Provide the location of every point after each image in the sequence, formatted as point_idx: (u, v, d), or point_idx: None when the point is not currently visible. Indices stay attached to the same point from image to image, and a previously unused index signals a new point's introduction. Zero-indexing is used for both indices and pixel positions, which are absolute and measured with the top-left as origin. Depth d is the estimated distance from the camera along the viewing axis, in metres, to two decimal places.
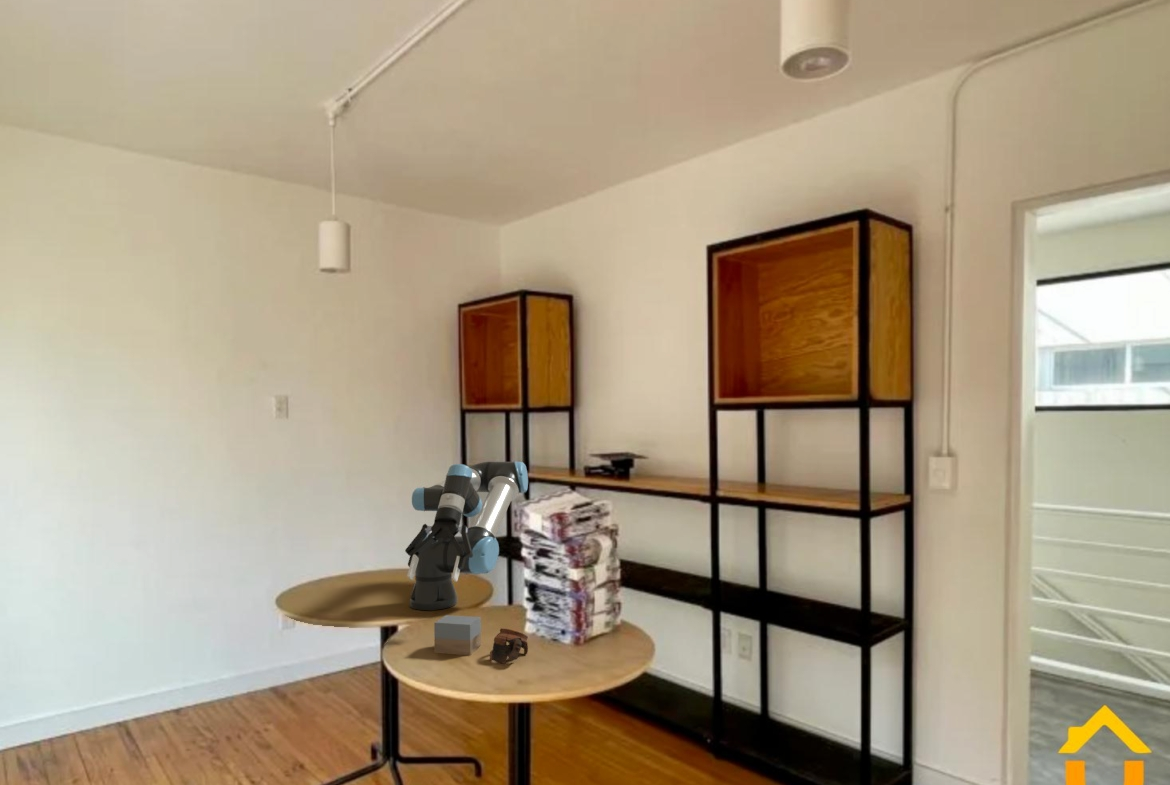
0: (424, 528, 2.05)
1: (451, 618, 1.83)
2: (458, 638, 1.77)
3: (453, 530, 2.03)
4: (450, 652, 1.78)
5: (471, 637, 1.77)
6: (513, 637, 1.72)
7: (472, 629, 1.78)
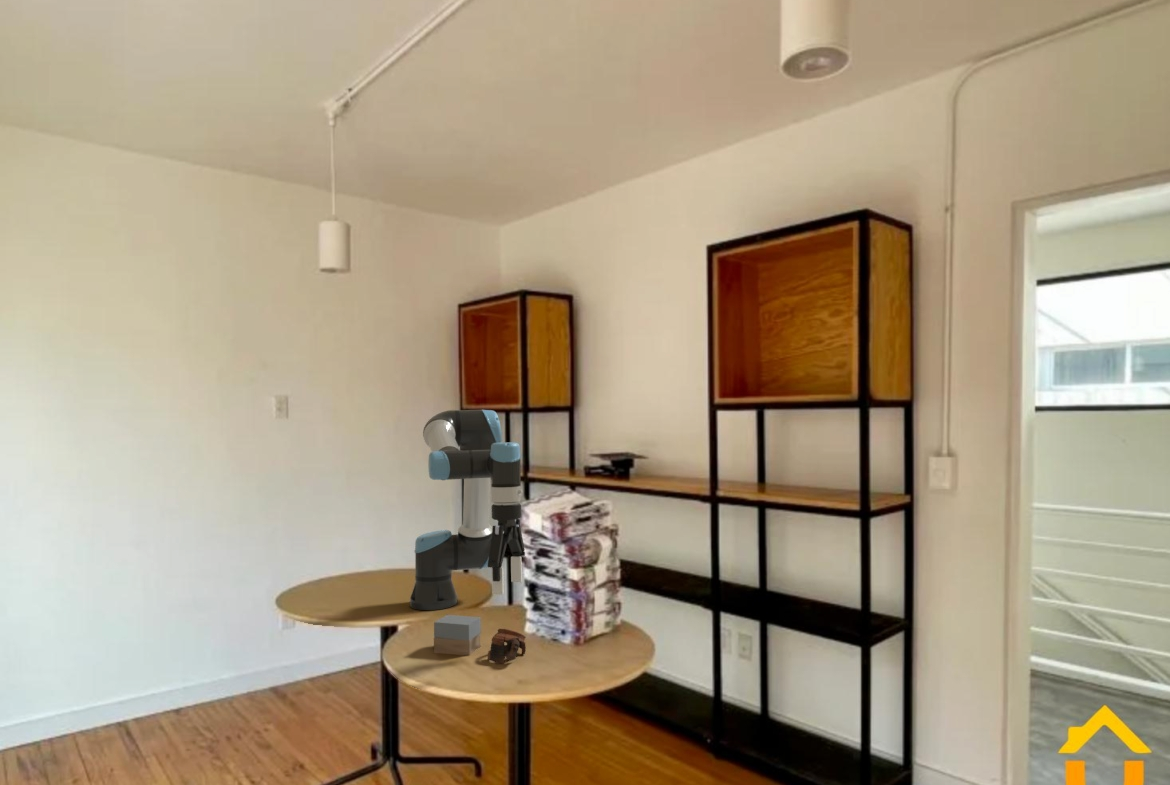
0: (502, 531, 1.69)
1: (451, 618, 1.83)
2: (457, 638, 1.78)
3: None
4: (449, 652, 1.78)
5: (469, 637, 1.77)
6: (511, 637, 1.72)
7: (471, 629, 1.78)
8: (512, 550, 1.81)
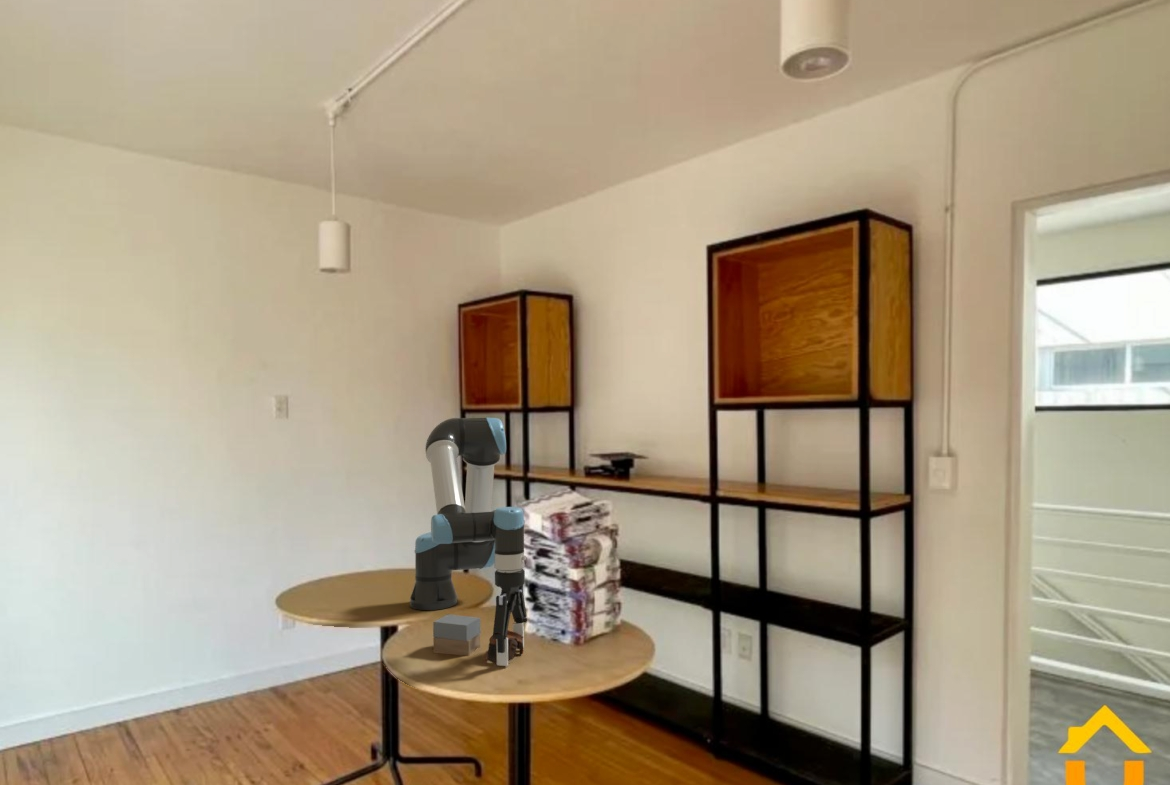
0: (506, 602, 1.68)
1: (451, 618, 1.83)
2: (455, 638, 1.77)
3: None
4: (449, 652, 1.78)
5: (467, 637, 1.77)
6: (509, 637, 1.72)
7: (470, 630, 1.78)
8: (514, 616, 1.79)
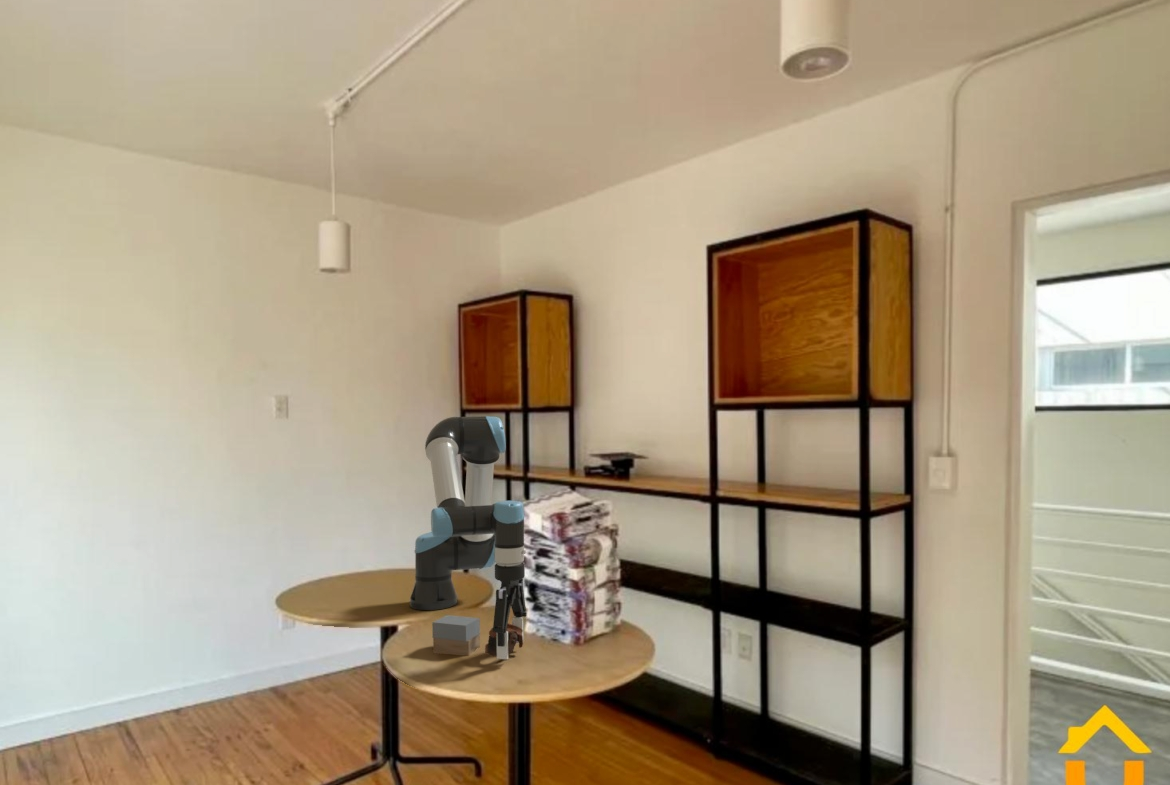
0: (506, 595, 1.68)
1: (450, 618, 1.83)
2: (454, 638, 1.77)
3: None
4: (449, 652, 1.78)
5: (467, 638, 1.77)
6: (509, 630, 1.72)
7: (469, 630, 1.78)
8: (514, 610, 1.79)
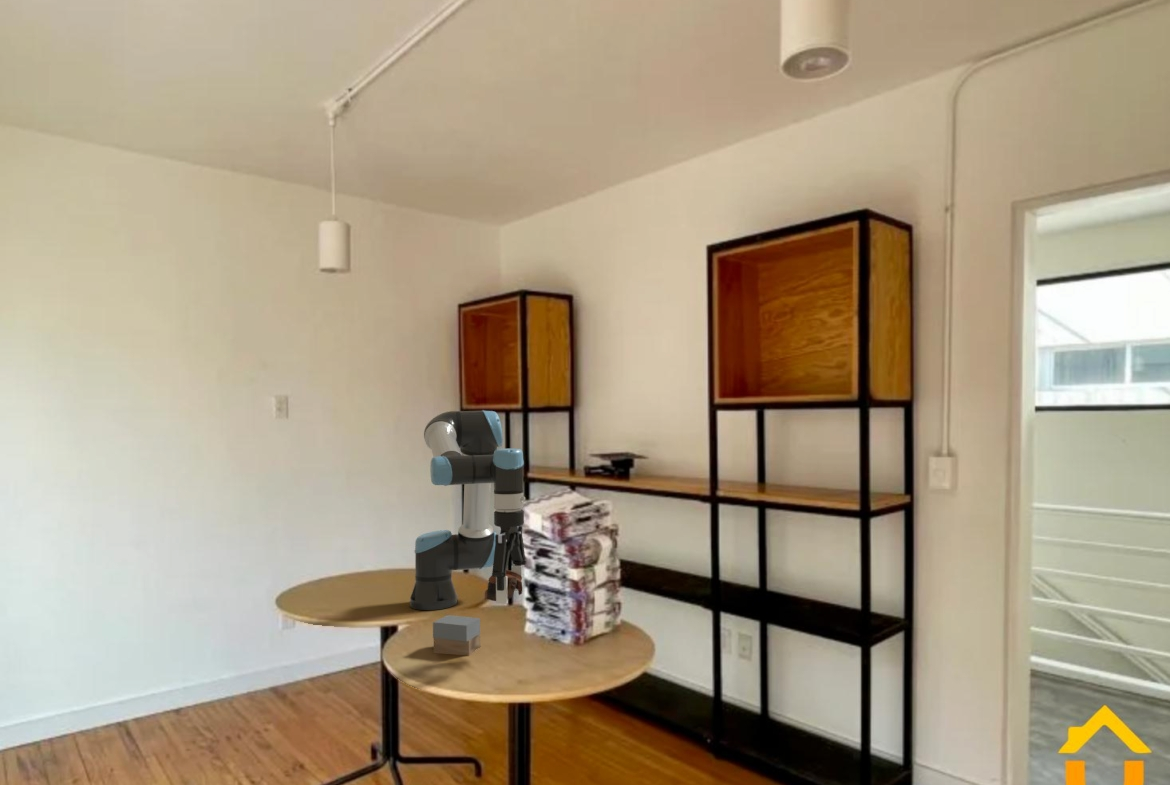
0: (505, 540, 1.69)
1: (450, 618, 1.83)
2: (455, 638, 1.77)
3: None
4: (449, 652, 1.78)
5: (467, 638, 1.76)
6: (508, 576, 1.73)
7: (469, 630, 1.78)
8: (513, 558, 1.80)
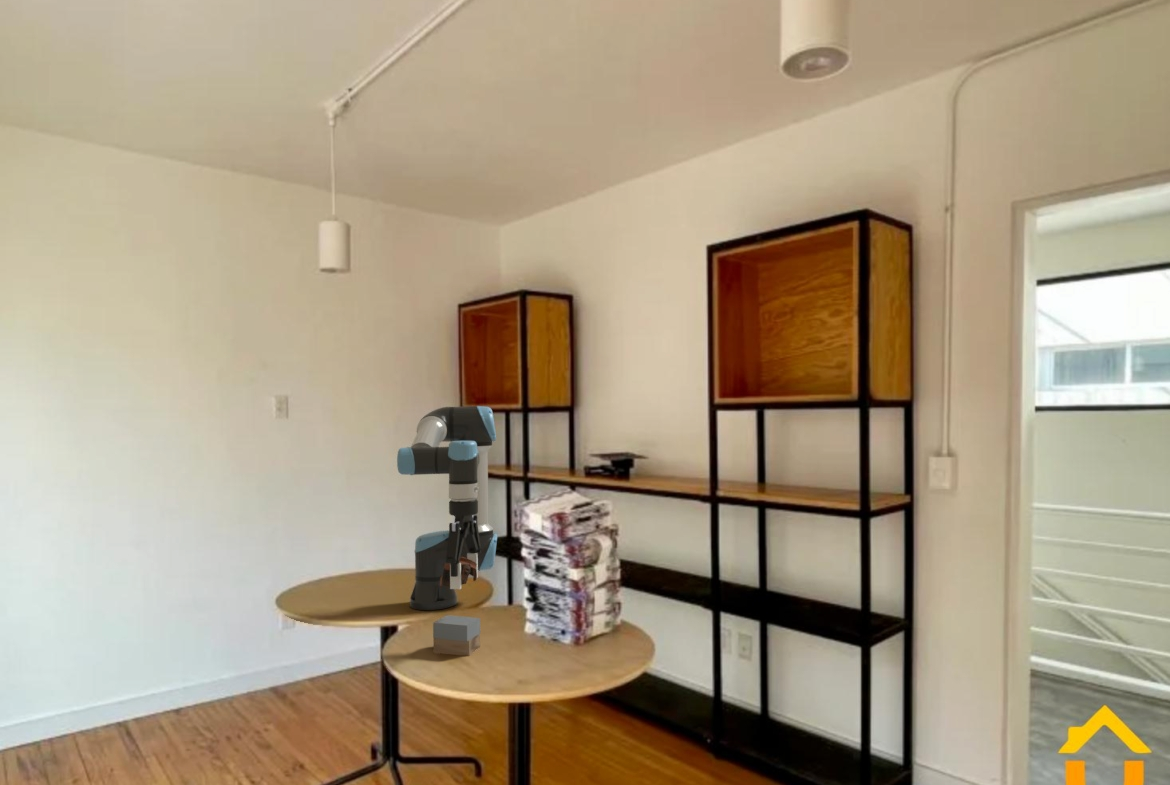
0: (459, 528, 1.76)
1: (450, 618, 1.83)
2: (455, 638, 1.77)
3: None
4: (449, 652, 1.78)
5: (468, 638, 1.76)
6: (462, 563, 1.80)
7: (470, 630, 1.78)
8: (468, 546, 1.87)
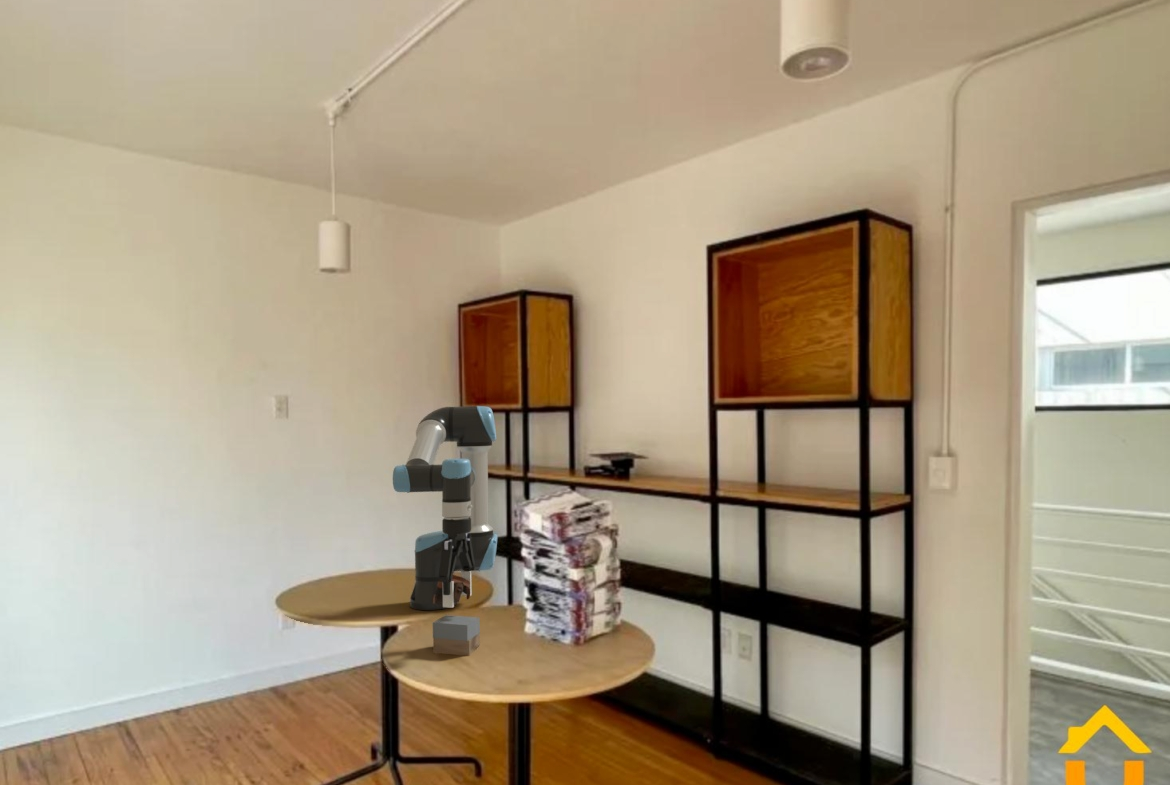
0: (452, 546, 1.76)
1: (450, 618, 1.83)
2: (455, 638, 1.77)
3: None
4: (449, 652, 1.78)
5: (468, 637, 1.77)
6: (455, 581, 1.80)
7: (470, 630, 1.78)
8: (462, 564, 1.87)
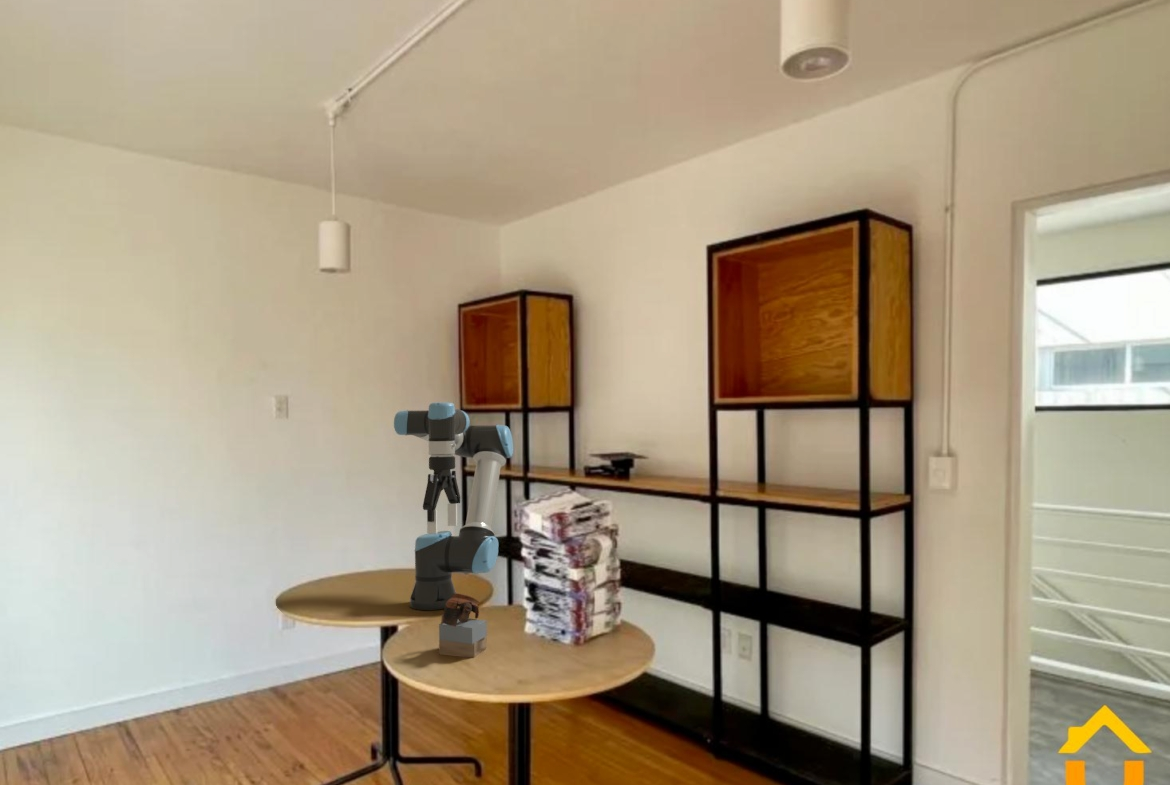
0: (437, 479, 1.94)
1: None
2: (461, 641, 1.75)
3: None
4: (454, 654, 1.76)
5: (473, 640, 1.75)
6: (464, 601, 1.78)
7: (475, 633, 1.76)
8: (448, 498, 2.06)
